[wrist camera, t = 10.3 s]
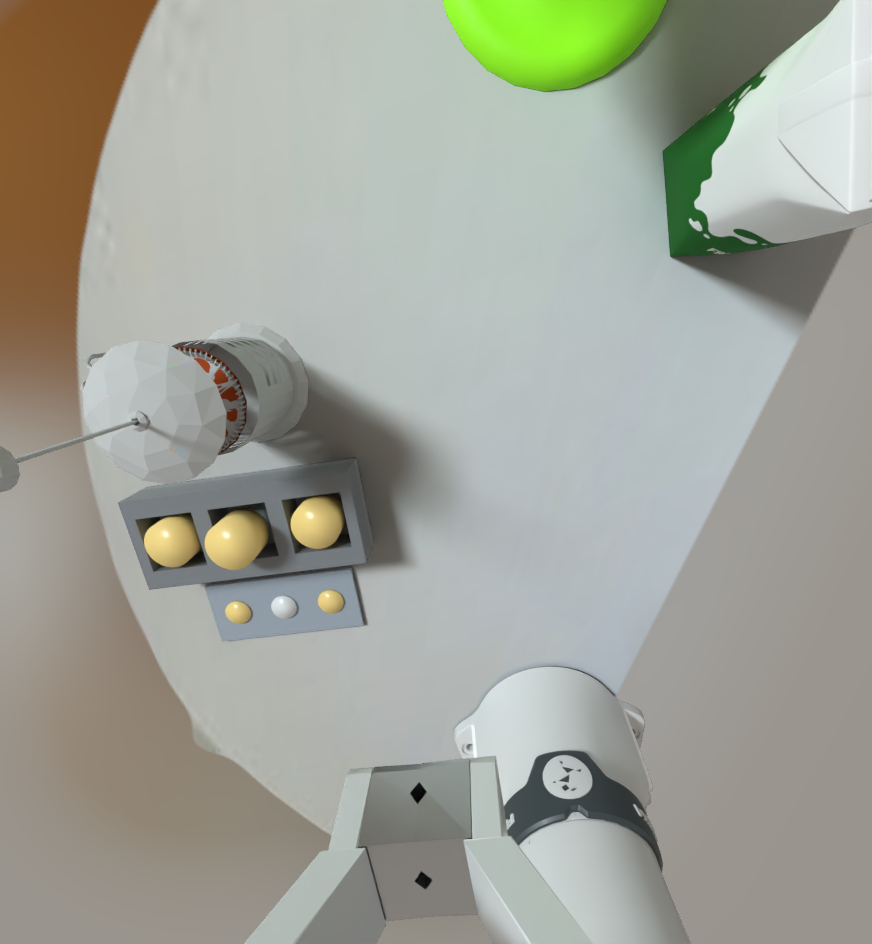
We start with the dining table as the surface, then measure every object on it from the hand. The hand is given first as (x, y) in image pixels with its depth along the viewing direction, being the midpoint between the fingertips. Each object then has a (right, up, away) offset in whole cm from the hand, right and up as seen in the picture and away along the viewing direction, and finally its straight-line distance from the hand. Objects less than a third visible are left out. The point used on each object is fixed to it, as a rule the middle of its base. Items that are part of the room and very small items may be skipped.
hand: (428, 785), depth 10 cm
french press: (-16, +14, +31) cm, 38 cm away
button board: (-15, -1, +35) cm, 38 cm away
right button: (-9, +3, +32) cm, 34 cm away
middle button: (-16, +1, +31) cm, 35 cm away
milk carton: (+20, +27, +26) cm, 42 cm away
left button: (-22, +1, +33) cm, 40 cm away
